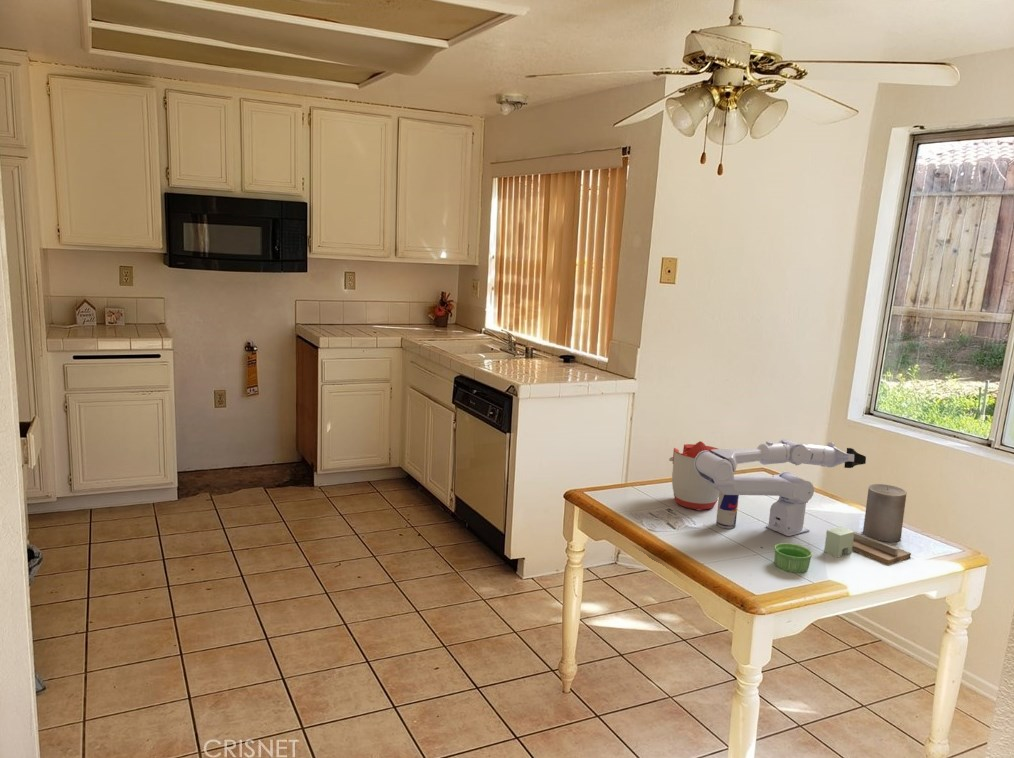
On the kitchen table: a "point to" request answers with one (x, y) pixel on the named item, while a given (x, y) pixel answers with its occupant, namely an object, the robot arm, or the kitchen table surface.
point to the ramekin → (792, 557)
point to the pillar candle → (884, 512)
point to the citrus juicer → (691, 479)
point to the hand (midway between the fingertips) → (854, 459)
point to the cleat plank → (878, 549)
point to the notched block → (839, 541)
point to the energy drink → (727, 510)
